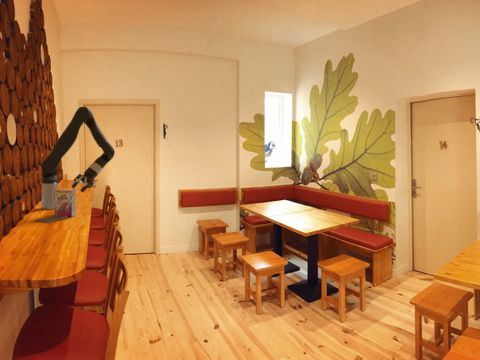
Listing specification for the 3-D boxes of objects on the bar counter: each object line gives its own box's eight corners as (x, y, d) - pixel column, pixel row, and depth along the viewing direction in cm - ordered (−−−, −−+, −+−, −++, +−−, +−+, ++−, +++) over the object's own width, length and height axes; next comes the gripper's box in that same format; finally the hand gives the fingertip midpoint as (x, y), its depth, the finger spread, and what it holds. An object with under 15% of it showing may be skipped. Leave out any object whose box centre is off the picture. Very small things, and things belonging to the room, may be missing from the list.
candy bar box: (54, 216, 205) (53, 189, 203) (59, 215, 210) (58, 188, 208) (71, 217, 204) (71, 190, 202) (76, 215, 209) (76, 189, 207)
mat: (34, 220, 193) (34, 218, 193) (54, 216, 205) (54, 214, 205) (48, 222, 189) (48, 220, 189) (67, 218, 201) (67, 216, 201)
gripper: (103, 177, 227) (87, 196, 219) (89, 171, 232) (72, 189, 225) (97, 170, 221) (81, 189, 213) (83, 164, 226) (66, 183, 219)
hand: (76, 189), depth 219 cm, fingers open, 8 cm apart
